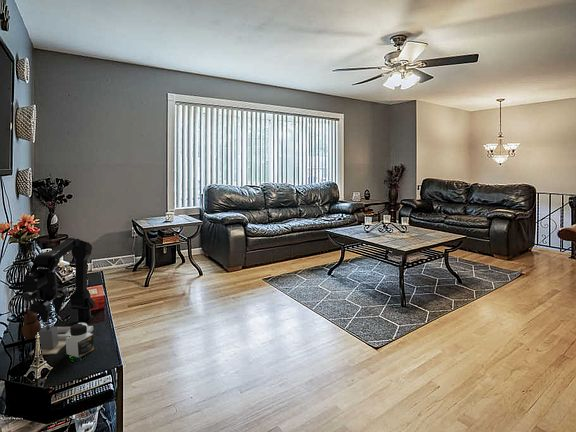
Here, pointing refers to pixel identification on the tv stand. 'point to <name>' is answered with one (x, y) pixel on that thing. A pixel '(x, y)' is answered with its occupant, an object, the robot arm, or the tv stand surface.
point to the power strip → (68, 332)
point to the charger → (48, 337)
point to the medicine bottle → (79, 340)
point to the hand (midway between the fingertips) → (51, 317)
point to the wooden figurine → (30, 325)
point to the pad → (52, 351)
